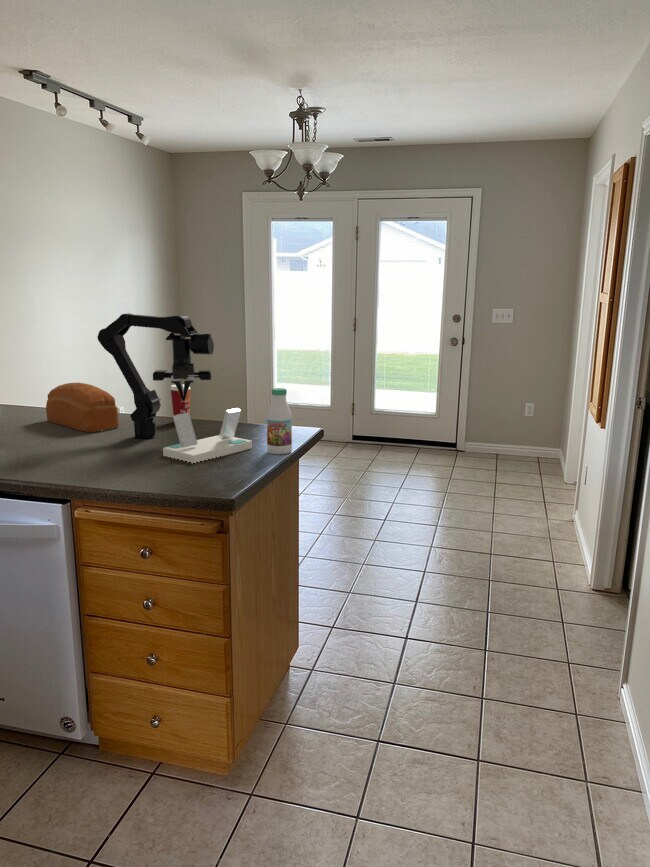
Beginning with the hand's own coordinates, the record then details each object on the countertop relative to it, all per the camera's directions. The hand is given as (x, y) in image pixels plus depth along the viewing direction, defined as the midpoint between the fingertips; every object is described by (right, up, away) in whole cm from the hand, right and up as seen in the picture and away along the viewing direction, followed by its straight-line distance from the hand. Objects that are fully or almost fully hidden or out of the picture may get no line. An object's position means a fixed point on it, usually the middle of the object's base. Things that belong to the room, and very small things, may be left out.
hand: (183, 400), depth 218 cm
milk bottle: (+33, -17, -14) cm, 40 cm away
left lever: (+6, -15, -21) cm, 26 cm away
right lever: (+16, -12, -10) cm, 22 cm away
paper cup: (-7, -7, +30) cm, 31 cm away
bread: (-43, -8, +25) cm, 50 cm away
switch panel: (+11, -17, -15) cm, 25 cm away
